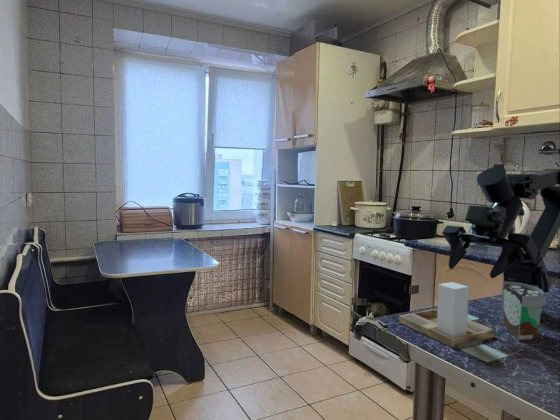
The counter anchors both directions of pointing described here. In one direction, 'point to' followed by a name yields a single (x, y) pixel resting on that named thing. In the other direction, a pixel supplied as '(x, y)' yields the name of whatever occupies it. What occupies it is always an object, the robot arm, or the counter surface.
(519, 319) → the food container
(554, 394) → the counter surface
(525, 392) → the counter surface
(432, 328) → the puzzle board
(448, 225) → the robot arm
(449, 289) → the tall white block
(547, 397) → the counter surface
